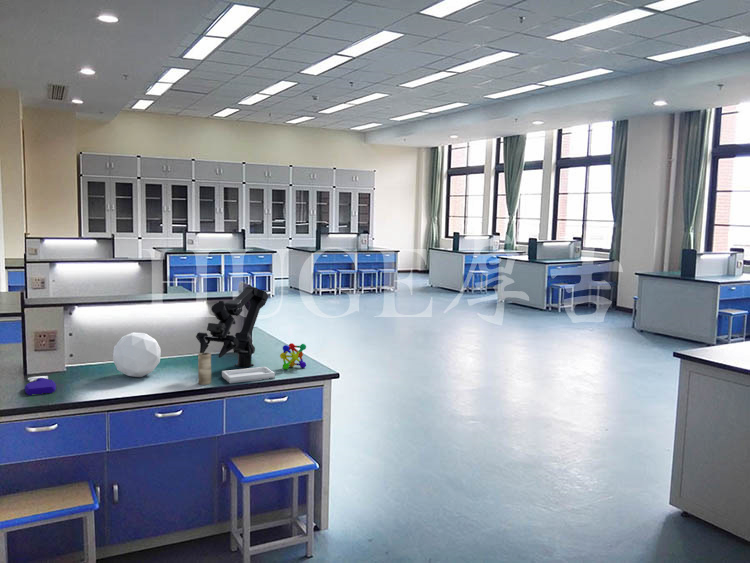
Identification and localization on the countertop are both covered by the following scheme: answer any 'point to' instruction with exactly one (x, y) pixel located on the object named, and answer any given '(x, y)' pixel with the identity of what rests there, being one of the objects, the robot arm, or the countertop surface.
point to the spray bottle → (40, 385)
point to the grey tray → (247, 374)
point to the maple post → (204, 368)
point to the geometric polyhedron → (136, 354)
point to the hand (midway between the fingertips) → (209, 356)
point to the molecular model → (293, 356)
